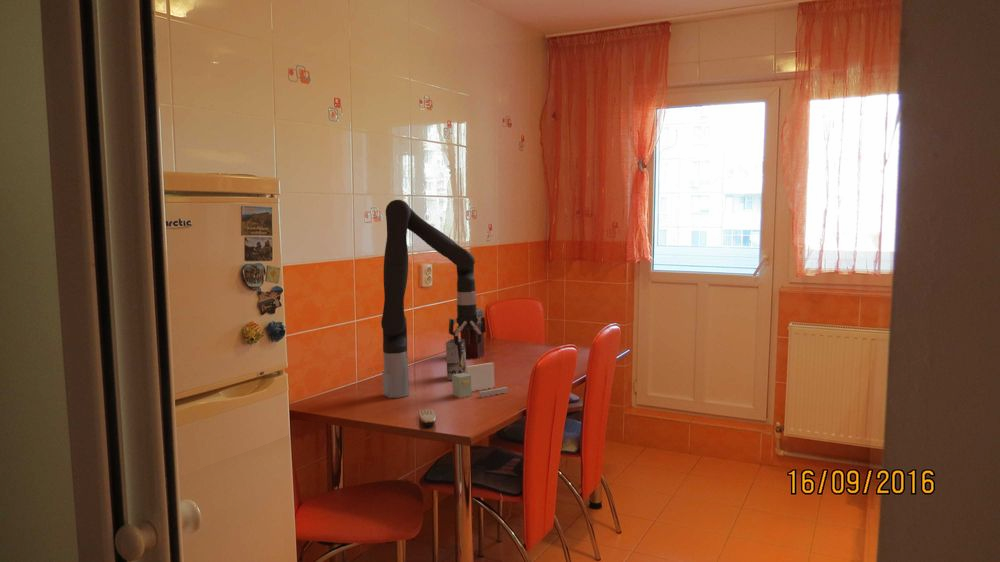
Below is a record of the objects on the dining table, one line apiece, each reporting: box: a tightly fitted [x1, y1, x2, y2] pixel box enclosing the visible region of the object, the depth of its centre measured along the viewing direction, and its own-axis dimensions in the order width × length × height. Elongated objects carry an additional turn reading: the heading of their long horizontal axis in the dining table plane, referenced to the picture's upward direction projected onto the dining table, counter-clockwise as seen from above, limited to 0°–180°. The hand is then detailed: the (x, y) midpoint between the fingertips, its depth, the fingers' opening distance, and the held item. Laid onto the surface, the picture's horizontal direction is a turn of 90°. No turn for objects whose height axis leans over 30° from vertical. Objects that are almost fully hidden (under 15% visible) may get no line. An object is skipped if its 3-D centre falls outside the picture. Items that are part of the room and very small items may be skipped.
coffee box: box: [445, 338, 467, 381], centre depth 297 cm, size 9×6×16 cm
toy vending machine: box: [460, 307, 485, 359], centre depth 339 cm, size 9×11×28 cm
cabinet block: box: [451, 373, 473, 399], centre depth 266 cm, size 5×7×8 cm
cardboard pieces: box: [466, 362, 509, 398], centre depth 270 cm, size 12×11×10 cm
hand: (467, 344), depth 272 cm, fingers open, 8 cm apart
